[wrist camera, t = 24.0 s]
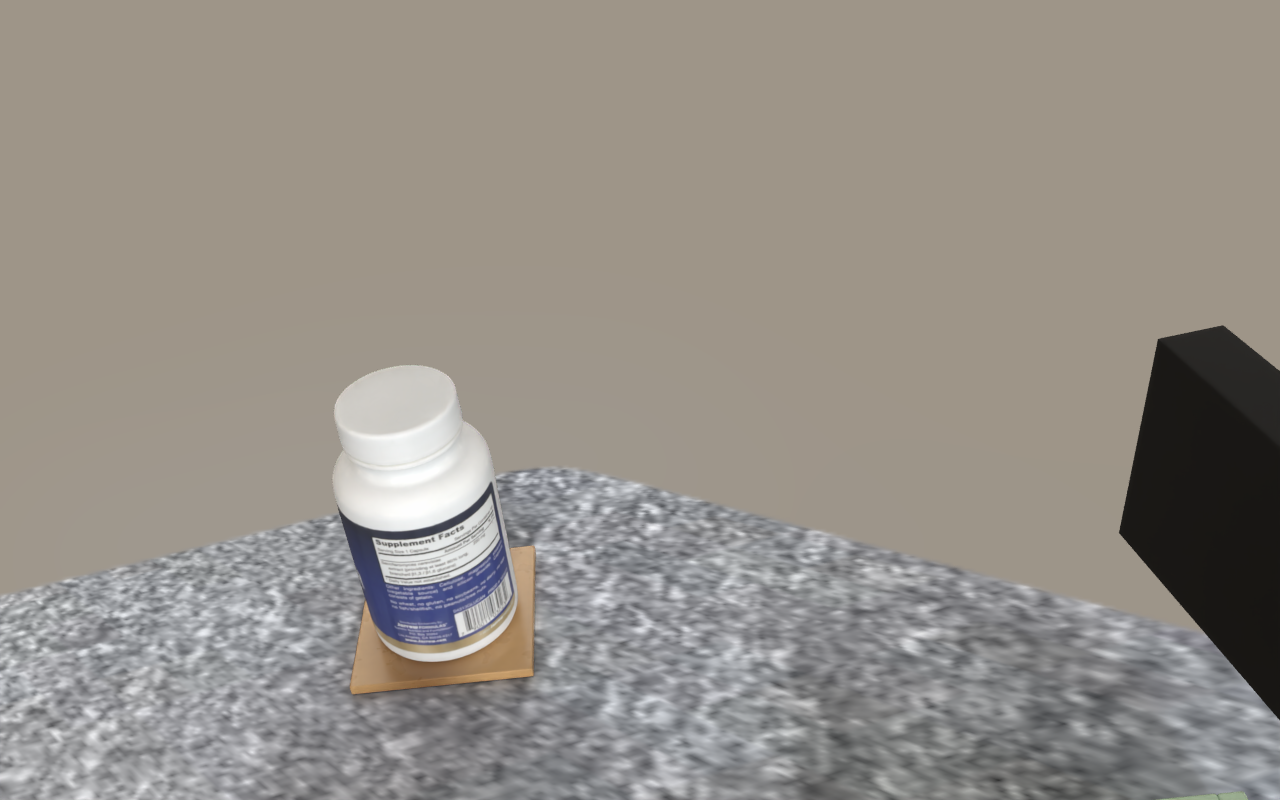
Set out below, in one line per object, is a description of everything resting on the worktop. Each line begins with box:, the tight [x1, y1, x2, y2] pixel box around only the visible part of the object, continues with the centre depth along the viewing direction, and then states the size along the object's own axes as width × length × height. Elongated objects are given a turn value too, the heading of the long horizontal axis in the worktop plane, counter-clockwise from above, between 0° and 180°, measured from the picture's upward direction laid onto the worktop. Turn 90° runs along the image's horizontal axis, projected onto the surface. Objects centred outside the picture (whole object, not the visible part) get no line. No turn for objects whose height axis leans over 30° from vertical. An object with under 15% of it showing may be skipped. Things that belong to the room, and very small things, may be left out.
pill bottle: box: [332, 365, 518, 662], centre depth 41 cm, size 5×5×10 cm
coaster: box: [350, 546, 536, 694], centre depth 44 cm, size 6×6×1 cm
